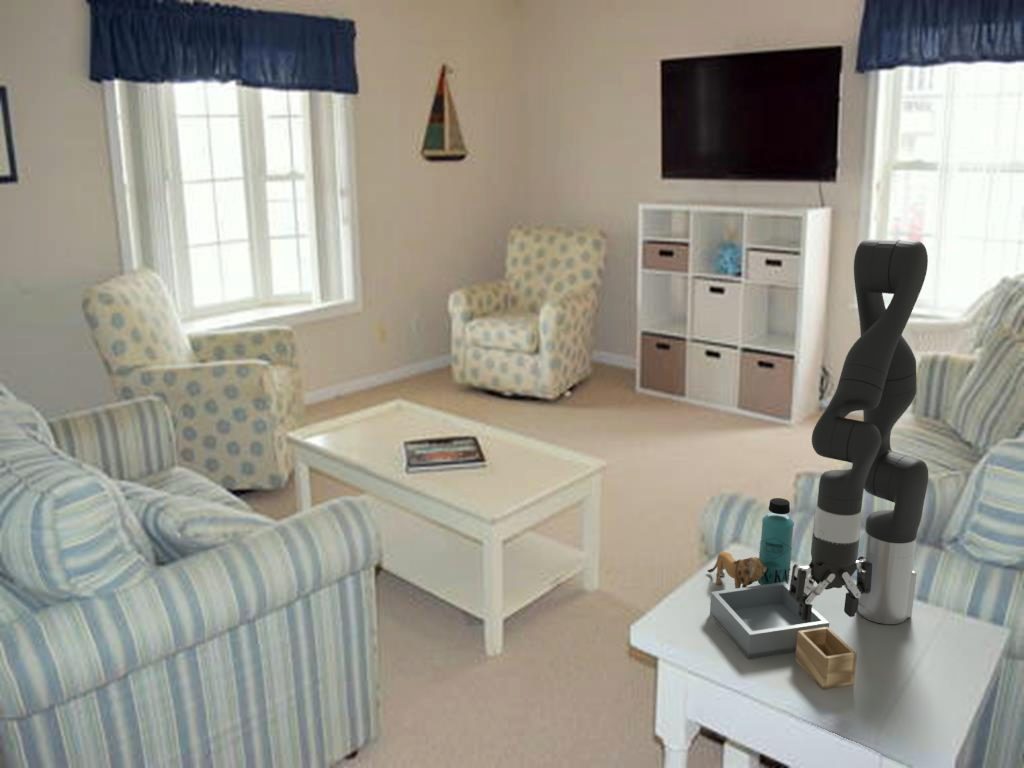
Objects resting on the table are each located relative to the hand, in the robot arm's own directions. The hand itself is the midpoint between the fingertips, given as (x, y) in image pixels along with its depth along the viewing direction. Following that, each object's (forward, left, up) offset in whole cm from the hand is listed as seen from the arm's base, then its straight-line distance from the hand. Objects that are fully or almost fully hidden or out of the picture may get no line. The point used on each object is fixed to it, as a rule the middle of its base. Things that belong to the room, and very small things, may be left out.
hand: (827, 617), depth 159 cm
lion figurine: (+1, -32, -11) cm, 33 cm away
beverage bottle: (-6, -29, -11) cm, 32 cm away
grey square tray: (+3, -15, -11) cm, 19 cm away
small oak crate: (0, 0, -11) cm, 11 cm away
